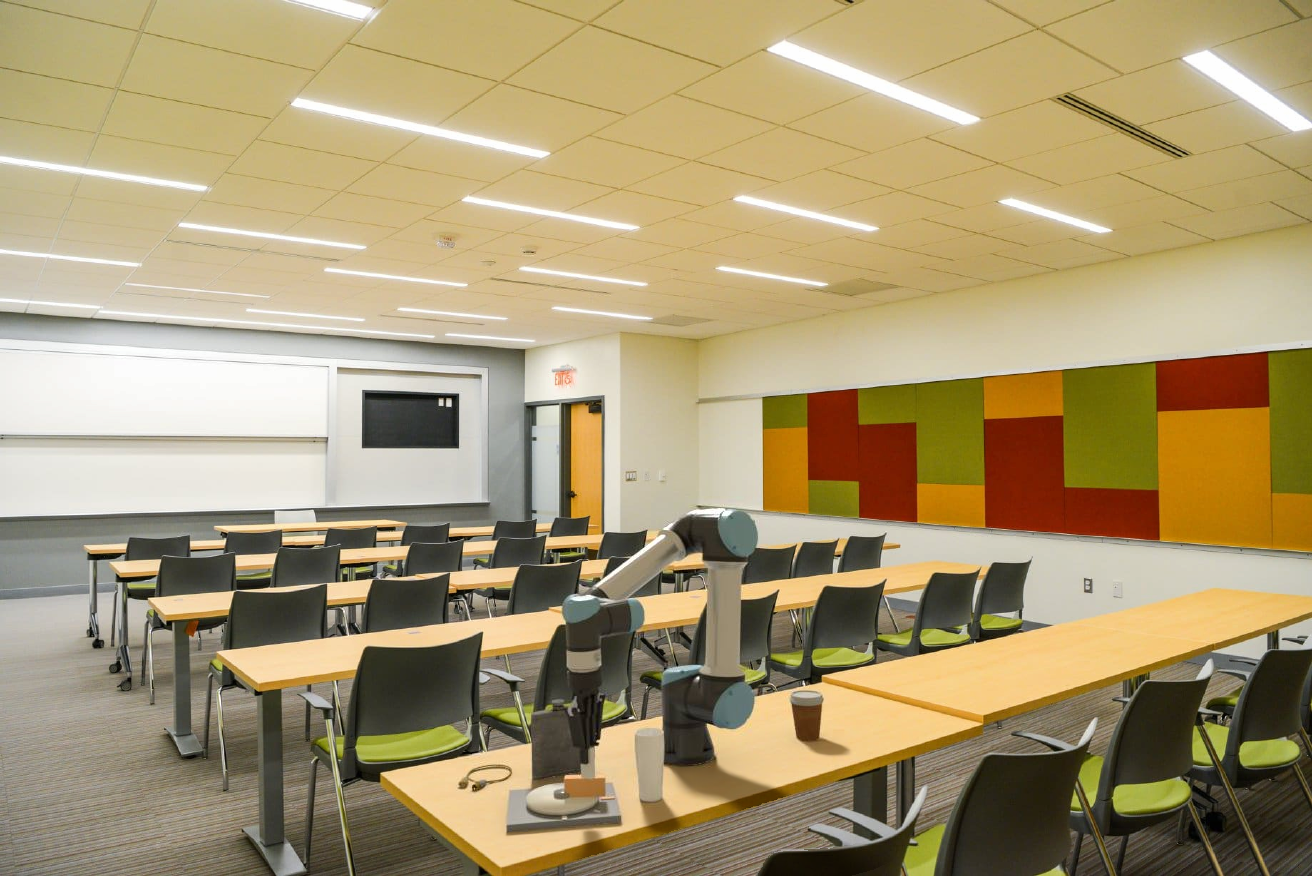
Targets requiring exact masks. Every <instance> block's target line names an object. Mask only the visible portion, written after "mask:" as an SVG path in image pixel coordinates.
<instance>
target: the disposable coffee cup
mask: <svg viewBox="0 0 1312 876" xmlns="http://www.w3.org/2000/svg"><path fill="white" fill-rule="evenodd" d="M788 699H789V702H790V705H791V710H792V718H793V724H794V730H795V737H796V739H797V738H798V739H797V740H799V741H802V742H813V741H817V740H819V739H820V734H821V722H822V721H821V720H822V712H823V703H824V700H825V698H824V697H823V694H822V693H821V692H820V691H817V690H812V689H811V690H810V689H809V690H808V689H801V690H800V689H799V690H794V691H792V692H791V693H790V696H789V697H788Z"/></svg>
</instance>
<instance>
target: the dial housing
mask: <svg viewBox="0 0 1312 876" xmlns="http://www.w3.org/2000/svg"><path fill="white" fill-rule="evenodd" d="M613 783H614V782H613V781H611V782H606V794H605V796H599V801H598V803H597V804H596V805H595V806H594V807H592V808H590V809H588V810H585V811H583V812H579V813H575V814H568V815H545V814H540V813H536V812H534V811H532V810H530V809H529V808H528V807H527V804H526V798H527V795H528V794H529V793H530V792H531V791H533V790H534V789H536V788H537V787H535V788H534V787H533V788H521V789H519V788H518V789H510V790H509V791H508V804H507V817H506V833H515V832H524V831H525V832H527V830H528V831H538V830H547V829H548V830H549V829H562V828H563V829H564V828H573V827H585V826H586V825H587V826H596V825H597V824H599V825H605V824H604V823H611V824H619V823H618V822H622V812H621V810H620V805H619V801H618V797H617V794H616V790H615V786H614V784H613Z"/></svg>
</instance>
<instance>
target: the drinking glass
mask: <svg viewBox="0 0 1312 876" xmlns="http://www.w3.org/2000/svg"><path fill="white" fill-rule="evenodd" d="M634 752H635V763H636V773H637V782H638V797H639V799H640V800H641V801H642V802H646V803H655V802H658V801H660V800H662V798H663V784H664V783H663V782H664V764H665V763H664V731H663V730H662V728H658V727H643V728H639V729H636V730H635V731H634Z"/></svg>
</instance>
